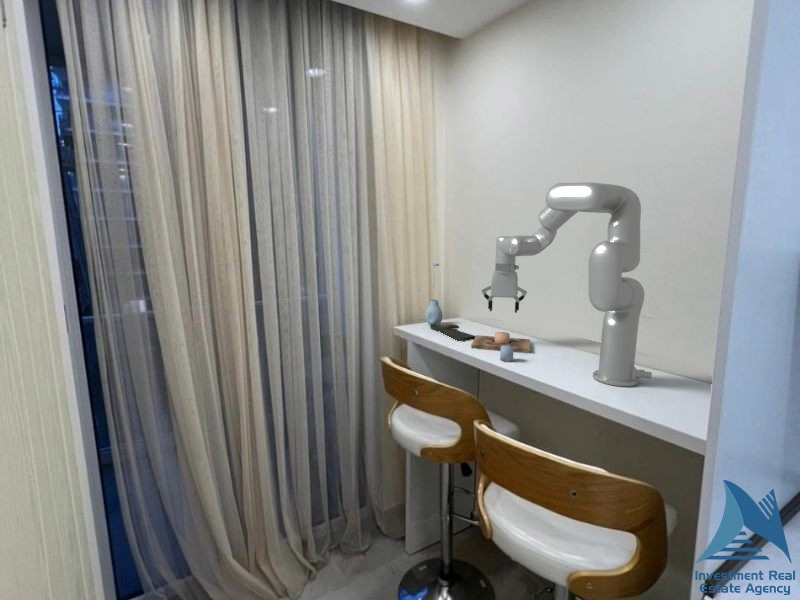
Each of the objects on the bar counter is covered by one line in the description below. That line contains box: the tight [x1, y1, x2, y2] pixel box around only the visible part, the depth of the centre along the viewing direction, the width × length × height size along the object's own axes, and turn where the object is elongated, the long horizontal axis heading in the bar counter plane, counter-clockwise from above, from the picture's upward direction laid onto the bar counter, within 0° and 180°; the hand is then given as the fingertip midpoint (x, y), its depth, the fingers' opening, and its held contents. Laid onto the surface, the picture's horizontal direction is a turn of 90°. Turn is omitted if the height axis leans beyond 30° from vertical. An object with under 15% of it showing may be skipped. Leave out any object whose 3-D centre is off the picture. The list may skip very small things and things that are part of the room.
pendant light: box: [424, 263, 443, 325], centre depth 201 cm, size 8×8×30 cm
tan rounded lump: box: [494, 331, 511, 344], centre depth 167 cm, size 6×6×5 cm
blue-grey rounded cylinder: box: [499, 345, 514, 363], centre depth 147 cm, size 4×4×5 cm
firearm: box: [429, 323, 476, 342], centre depth 188 cm, size 28×2×15 cm
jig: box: [471, 334, 531, 354], centre depth 167 cm, size 22×16×2 cm
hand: (503, 311), depth 165 cm, fingers open, 9 cm apart
